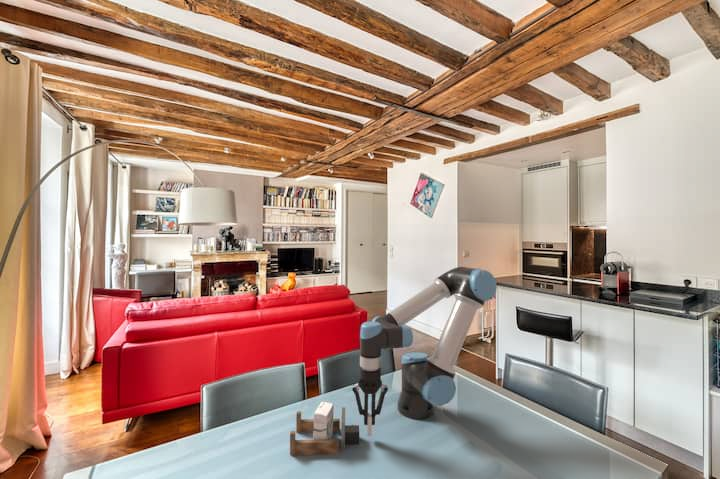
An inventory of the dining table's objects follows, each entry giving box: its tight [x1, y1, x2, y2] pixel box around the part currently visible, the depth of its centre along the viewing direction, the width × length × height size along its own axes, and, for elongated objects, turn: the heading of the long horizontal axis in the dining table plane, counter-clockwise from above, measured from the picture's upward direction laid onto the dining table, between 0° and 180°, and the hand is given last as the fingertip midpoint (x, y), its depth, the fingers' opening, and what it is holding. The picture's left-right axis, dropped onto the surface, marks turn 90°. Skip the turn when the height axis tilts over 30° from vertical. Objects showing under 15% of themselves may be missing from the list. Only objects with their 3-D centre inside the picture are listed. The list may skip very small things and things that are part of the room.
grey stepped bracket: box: [340, 406, 360, 450], centre depth 109 cm, size 6×10×9 cm, turn 2°
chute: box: [289, 410, 341, 456], centre depth 108 cm, size 16×14×7 cm
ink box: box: [312, 401, 335, 440], centre depth 108 cm, size 9×5×12 cm, turn 168°
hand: (369, 433), depth 109 cm, fingers closed
